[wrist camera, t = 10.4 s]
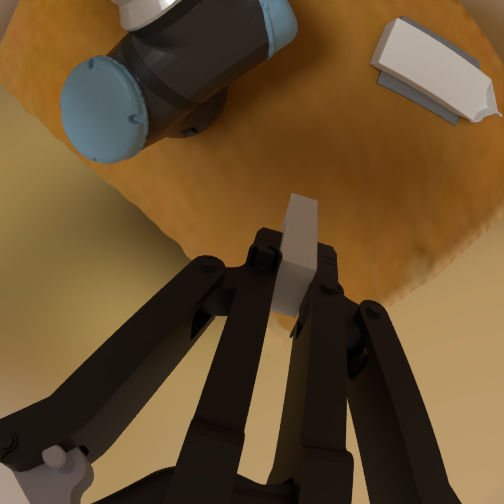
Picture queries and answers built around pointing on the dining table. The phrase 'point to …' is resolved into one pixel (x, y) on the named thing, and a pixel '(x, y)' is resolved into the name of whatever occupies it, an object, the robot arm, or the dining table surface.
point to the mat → (416, 95)
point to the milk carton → (434, 71)
